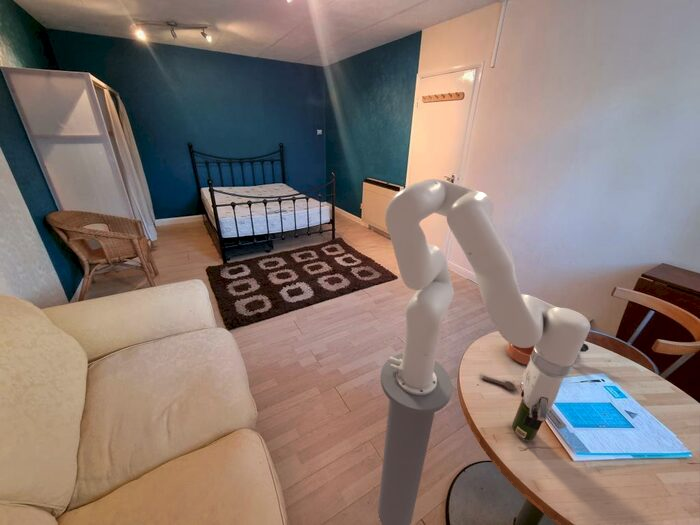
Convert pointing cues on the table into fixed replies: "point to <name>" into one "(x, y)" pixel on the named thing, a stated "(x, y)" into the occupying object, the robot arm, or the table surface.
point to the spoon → (501, 383)
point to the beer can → (517, 424)
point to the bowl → (520, 353)
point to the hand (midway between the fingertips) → (529, 411)
